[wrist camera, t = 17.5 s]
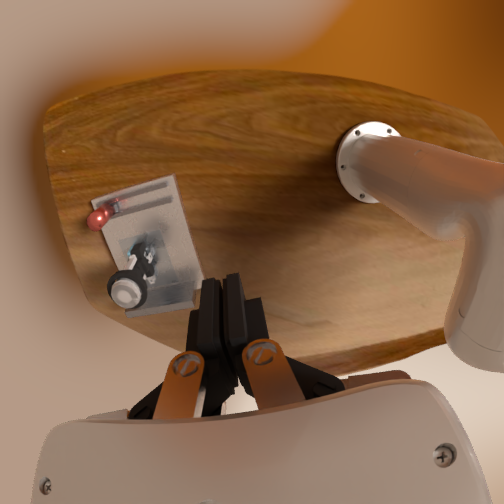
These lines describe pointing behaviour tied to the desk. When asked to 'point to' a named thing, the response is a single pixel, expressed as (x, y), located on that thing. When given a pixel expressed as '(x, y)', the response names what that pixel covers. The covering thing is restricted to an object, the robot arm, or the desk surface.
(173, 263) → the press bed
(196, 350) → the robot arm
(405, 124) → the desk surface
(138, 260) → the push button
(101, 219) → the lever
